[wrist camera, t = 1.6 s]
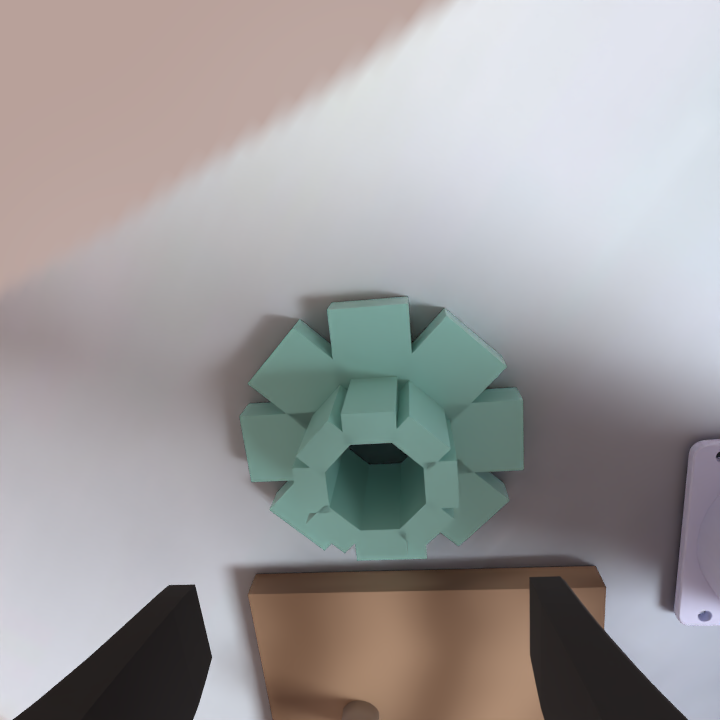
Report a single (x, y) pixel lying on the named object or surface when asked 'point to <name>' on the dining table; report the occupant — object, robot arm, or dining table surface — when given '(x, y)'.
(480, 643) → the gear board
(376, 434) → the teal gear
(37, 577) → the dining table surface
